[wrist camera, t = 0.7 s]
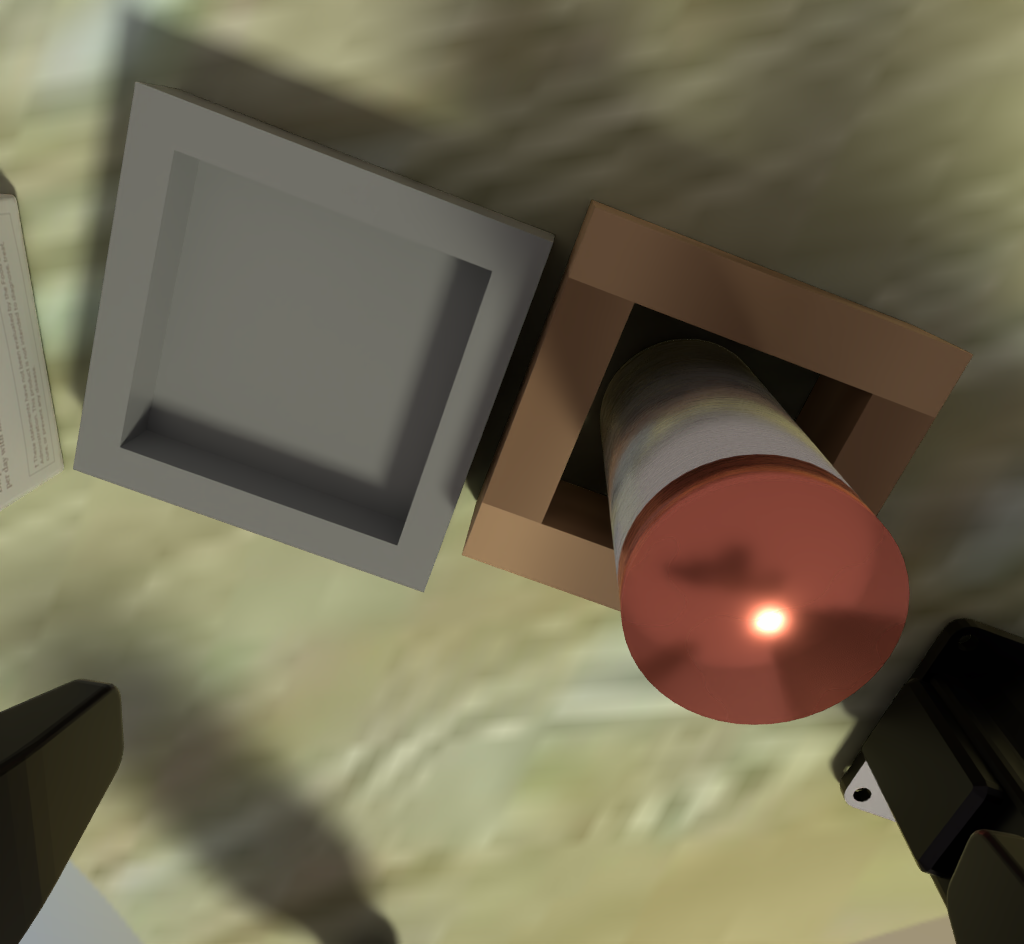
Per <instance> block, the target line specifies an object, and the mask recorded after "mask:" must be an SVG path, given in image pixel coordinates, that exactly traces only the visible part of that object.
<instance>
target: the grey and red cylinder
mask: <svg viewBox="0 0 1024 944" xmlns="http://www.w3.org/2000/svg"><path fill="white" fill-rule="evenodd" d="M600 430H601V439H602V448H603V457H604V466H605V475H606V484H607V493H608V502H609V511H610V520H611V529H612V537H613V546H614V555H615V564H616V573H617V582H618V591H619V600H620V609H621V618H622V626H623V631H624V635H625V640H626V643H627V645H628V648H629V651H630V653H631V656H632V657H633V659H634V661H635V663H636V664H637V666H638V668H639V669H640V671H641V672H642V673H643V674H644V676H645V677H646V678H647V680H648V681H649V682H650V683H651V684H652V685H653V686H654V687H655V688H656V689H657V690H658V691H660V692H661V693H662V694H663V695H665V696H666V697H667V698H669V699H670V700H672V701H673V702H675V703H676V704H678V705H680V706H682V707H684V708H685V709H687V710H689V711H692V712H694V713H697V714H699V715H701V716H704V717H708V718H711V719H715V720H718V721H724V722H730V723H736V724H751V725H757V724H774V723H780V722H787V721H792V720H796V719H800V718H804V717H807V716H810V715H813V714H815V713H818V712H821V711H823V710H825V709H827V708H829V707H831V706H833V705H835V704H837V703H839V702H841V701H842V700H844V699H846V698H847V697H849V696H850V695H852V694H853V693H855V692H856V691H857V690H858V689H860V688H861V687H862V686H863V685H865V684H866V683H867V682H868V681H869V680H870V679H871V678H872V677H873V676H874V675H875V674H876V673H877V672H878V671H879V670H880V669H881V667H882V666H883V665H884V663H885V662H886V661H887V659H888V658H889V657H890V655H891V653H892V652H893V650H894V648H895V646H896V645H897V643H898V641H899V638H900V636H901V633H902V631H903V628H904V626H905V622H906V617H907V613H908V607H909V594H910V592H909V580H908V574H907V570H906V566H905V562H904V559H903V557H902V554H901V552H900V550H899V547H898V545H897V544H896V542H895V541H894V539H893V537H892V536H891V534H890V533H889V531H888V530H887V529H886V528H885V526H884V525H883V524H882V523H881V522H880V521H879V519H878V518H877V517H876V516H875V515H874V514H873V512H872V511H871V510H870V509H869V508H868V507H867V505H866V504H865V503H864V502H863V501H862V500H861V498H860V497H859V496H858V495H857V494H856V493H855V491H854V490H853V489H852V488H851V487H850V486H849V484H848V483H847V482H846V481H845V480H844V479H843V477H842V476H841V475H840V474H839V473H838V472H837V470H836V469H835V468H834V467H833V466H832V465H831V463H830V462H829V461H828V460H827V459H826V457H825V456H824V455H823V454H822V453H821V452H820V450H819V449H818V448H817V447H816V446H815V445H814V443H813V442H812V441H811V440H810V439H809V438H808V436H807V435H806V434H805V433H804V432H803V431H802V429H801V428H800V427H799V426H798V425H797V424H796V422H795V421H794V420H793V419H792V418H791V417H790V415H789V414H788V413H787V412H786V411H785V410H784V408H783V407H782V406H781V405H780V404H779V403H778V401H777V400H776V399H775V398H774V397H773V395H772V394H771V393H770V392H769V391H768V390H767V388H766V387H765V386H764V385H763V384H762V383H761V381H760V380H759V379H758V378H757V377H756V376H755V374H754V373H753V372H752V371H751V370H750V369H749V367H748V366H747V365H746V364H745V363H744V362H743V361H742V360H741V359H740V358H739V357H738V356H737V355H735V354H734V353H732V352H731V351H729V350H728V349H726V348H724V347H722V346H720V345H718V344H715V343H712V342H708V341H705V340H699V339H673V340H669V341H664V342H660V343H658V344H655V345H652V346H650V347H648V348H646V349H644V350H642V351H640V352H639V353H637V354H636V355H634V356H633V357H632V358H630V359H629V360H628V361H627V362H626V363H625V364H624V365H623V366H622V367H621V368H620V369H619V370H618V371H617V373H616V374H615V376H614V377H613V378H612V380H611V382H610V383H609V385H608V387H607V389H606V392H605V395H604V398H603V400H602V405H601V410H600Z"/></svg>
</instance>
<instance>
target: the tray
mask: <svg viewBox="0 0 1024 944" xmlns="http://www.w3.org/2000/svg"><path fill="white" fill-rule="evenodd" d="M554 237H555V235H554V234H551V233H549V232H546V231H544V230H541V229H538V228H536V227H533V226H531V225H528V224H526V223H523V222H520V221H518V220H515V219H513V218H510V217H507V216H505V215H502V214H500V213H497V212H494V211H492V210H489V209H487V208H484V207H482V206H479V205H476V204H474V203H471V202H469V201H466V200H463V199H461V198H458V197H456V196H453V195H450V194H448V193H445V192H443V191H440V190H438V189H435V188H432V187H430V186H427V185H425V184H422V183H419V182H417V181H414V180H412V179H409V178H407V177H404V176H401V175H399V174H396V173H394V172H391V171H388V170H386V169H383V168H381V167H378V166H375V165H373V164H370V163H368V162H365V161H363V160H360V159H357V158H355V157H352V156H350V155H347V154H344V153H342V152H339V151H337V150H334V149H331V148H329V147H326V146H324V145H321V144H319V143H316V142H313V141H311V140H308V139H306V138H303V137H300V136H298V135H295V134H293V133H290V132H287V131H285V130H282V129H280V128H277V127H275V126H272V125H269V124H267V123H264V122H262V121H259V120H256V119H254V118H251V117H249V116H246V115H244V114H241V113H238V112H236V111H233V110H231V109H228V108H225V107H223V106H220V105H218V104H215V103H212V102H210V101H207V100H205V99H202V98H200V97H197V96H194V95H192V94H189V93H187V92H184V91H181V90H179V89H176V88H170V87H165V86H159V85H153V84H148V83H142V82H137V81H135V88H134V94H133V100H132V106H131V112H130V119H129V125H128V131H127V137H126V143H125V150H124V156H123V162H122V168H121V175H120V181H119V187H118V193H117V199H116V206H115V212H114V218H113V224H112V230H111V237H110V243H109V249H108V255H107V261H106V268H105V274H104V280H103V286H102V292H101V299H100V305H99V311H98V317H97V323H96V330H95V336H94V342H93V348H92V355H91V361H90V367H89V373H88V379H87V386H86V392H85V398H84V404H83V410H82V417H81V423H80V429H79V435H78V441H77V448H76V454H75V460H74V466H73V469H74V470H77V471H79V472H82V473H85V474H88V475H91V476H94V477H96V478H99V479H102V480H105V481H108V482H111V483H114V484H116V485H119V486H122V487H125V488H128V489H131V490H134V491H136V492H139V493H142V494H145V495H148V496H151V497H153V498H156V499H159V500H162V501H165V502H168V503H171V504H173V505H176V506H179V507H182V508H185V509H188V510H190V511H193V512H196V513H199V514H202V515H205V516H208V517H210V518H213V519H216V520H219V521H222V522H225V523H228V524H230V525H233V526H236V527H239V528H242V529H245V530H247V531H250V532H253V533H256V534H259V535H262V536H265V537H267V538H270V539H273V540H276V541H279V542H282V543H284V544H287V545H290V546H293V547H296V548H299V549H302V550H304V551H307V552H310V553H313V554H316V555H319V556H322V557H324V558H327V559H330V560H333V561H336V562H339V563H341V564H344V565H347V566H350V567H353V568H356V569H359V570H361V571H364V572H367V573H370V574H373V575H376V576H379V577H381V578H384V579H387V580H390V581H393V582H396V583H398V584H401V585H404V586H407V587H410V588H413V589H416V590H418V591H421V592H424V590H425V587H426V585H427V582H428V579H429V577H430V574H431V571H432V569H433V566H434V563H435V560H436V558H437V555H438V552H439V550H440V547H441V544H442V542H443V539H444V536H445V533H446V531H447V528H448V525H449V523H450V520H451V517H452V515H453V512H454V509H455V507H456V504H457V501H458V498H459V496H460V493H461V490H462V488H463V485H464V482H465V480H466V477H467V474H468V471H469V469H470V466H471V463H472V461H473V458H474V455H475V453H476V450H477V447H478V444H479V442H480V439H481V436H482V434H483V431H484V428H485V426H486V423H487V420H488V417H489V415H490V412H491V409H492V407H493V404H494V401H495V399H496V396H497V393H498V390H499V388H500V385H501V382H502V380H503V377H504V374H505V372H506V369H507V366H508V363H509V361H510V358H511V355H512V353H513V350H514V347H515V345H516V342H517V339H518V336H519V334H520V331H521V328H522V326H523V323H524V320H525V318H526V315H527V312H528V310H529V307H530V304H531V301H532V299H533V296H534V293H535V291H536V288H537V285H538V283H539V280H540V277H541V274H542V272H543V269H544V266H545V264H546V261H547V258H548V256H549V253H550V250H551V247H552V245H553V242H554Z"/></svg>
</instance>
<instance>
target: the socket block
mask: <svg viewBox="0 0 1024 944" xmlns="http://www.w3.org/2000/svg"><path fill="white" fill-rule="evenodd" d="M634 303H637V304H640V305H642V306H645V307H647V308H650V309H653V310H655V311H658V312H660V313H663V314H666V315H668V316H671V317H673V318H676V319H679V320H681V321H684V322H686V323H689V324H692V325H694V326H697V327H700V328H702V329H705V330H707V331H710V332H713V333H715V334H718V335H720V336H723V337H726V338H728V339H731V340H733V341H736V342H739V343H741V344H744V345H747V346H749V347H752V348H754V349H757V350H760V351H762V352H765V353H767V354H770V355H773V356H775V357H778V358H780V359H783V360H786V361H788V362H791V363H793V364H796V365H799V366H801V367H804V368H807V369H809V370H812V371H814V372H817V373H820V376H819V378H818V380H817V382H816V384H815V385H814V387H813V389H812V391H811V393H810V395H809V397H808V399H807V401H806V402H805V404H804V406H803V408H802V410H801V412H800V414H799V416H798V418H797V419H796V421H795V422H796V424H797V425H798V426H799V427H800V428H801V429H802V431H803V432H804V433H805V434H806V435H807V436H808V438H809V439H810V440H811V441H812V442H813V443H814V445H815V446H816V447H817V448H818V449H819V450H820V452H821V453H822V454H823V455H824V456H825V457H826V459H827V460H828V461H829V462H830V463H831V465H832V466H833V467H834V468H835V469H836V470H837V472H838V473H839V474H840V475H841V476H842V477H843V479H844V480H845V481H846V482H847V483H848V484H849V486H850V487H851V488H852V489H853V490H854V491H855V493H856V494H857V495H858V496H859V497H860V498H861V500H862V501H863V502H864V503H865V504H866V505H867V507H868V508H869V509H870V510H871V511H872V512H873V514H874V515H875V516H877V514H878V513H879V511H880V509H881V508H882V506H883V504H884V503H885V501H886V499H887V498H888V496H889V494H890V493H891V491H892V489H893V488H894V486H895V484H896V483H897V481H898V479H899V478H900V476H901V474H902V473H903V471H904V469H905V468H906V466H907V464H908V463H909V461H910V459H911V458H912V456H913V454H914V453H915V451H916V449H917V448H918V446H919V444H920V443H921V441H922V439H923V438H924V436H925V434H926V433H927V431H928V429H929V428H930V426H931V424H932V423H933V421H934V419H935V418H936V416H937V414H938V413H939V411H940V409H941V408H942V406H943V404H944V403H945V401H946V399H947V398H948V396H949V394H950V393H951V391H952V389H953V388H954V386H955V384H956V383H957V381H958V379H959V378H960V376H961V374H962V373H963V371H964V369H965V368H966V366H967V364H968V363H969V361H970V359H971V358H972V356H973V354H971V353H969V352H967V351H965V350H963V349H961V348H959V347H957V346H955V345H953V344H951V343H949V342H946V341H944V340H942V339H940V338H938V337H936V336H934V335H932V334H930V333H928V332H926V331H924V330H922V329H920V328H918V327H916V326H913V325H911V324H909V323H906V322H903V321H901V320H898V319H896V318H893V317H891V316H888V315H886V314H883V313H880V312H878V311H875V310H873V309H870V308H868V307H865V306H863V305H860V304H857V303H855V302H852V301H850V300H847V299H845V298H842V297H839V296H837V295H834V294H832V293H829V292H827V291H824V290H822V289H819V288H816V287H814V286H811V285H809V284H806V283H804V282H801V281H799V280H796V279H793V278H791V277H788V276H786V275H783V274H781V273H778V272H776V271H773V270H770V269H768V268H765V267H763V266H760V265H758V264H755V263H753V262H750V261H747V260H745V259H742V258H740V257H737V256H735V255H732V254H729V253H727V252H724V251H722V250H719V249H717V248H714V247H712V246H709V245H706V244H704V243H701V242H699V241H696V240H694V239H691V238H689V237H686V236H683V235H681V234H678V233H676V232H673V231H671V230H668V229H666V228H663V227H660V226H658V225H655V224H653V223H650V222H648V221H645V220H642V219H640V218H637V217H635V216H632V215H630V214H627V213H625V212H622V211H619V210H617V209H614V208H612V207H609V206H607V205H604V204H602V203H599V202H596V201H594V200H591V203H590V205H589V208H588V210H587V213H586V216H585V218H584V221H583V224H582V226H581V229H580V231H579V234H578V237H577V239H576V242H575V245H574V247H573V250H572V252H571V255H570V258H569V260H568V263H567V266H566V268H565V271H564V273H563V276H562V279H561V281H560V284H559V287H558V289H557V292H556V294H555V297H554V300H553V302H552V305H551V308H550V310H549V313H548V315H547V318H546V321H545V323H544V326H543V329H542V331H541V334H540V336H539V339H538V342H537V344H536V347H535V350H534V352H533V355H532V357H531V360H530V363H529V365H528V368H527V371H526V373H525V376H524V378H523V381H522V384H521V386H520V389H519V392H518V394H517V397H516V399H515V402H514V405H513V407H512V410H511V413H510V415H509V418H508V420H507V423H506V426H505V428H504V431H503V434H502V436H501V439H500V441H499V444H498V447H497V449H496V452H495V455H494V457H493V460H492V462H491V465H490V468H489V470H488V473H487V476H486V478H485V481H484V483H483V486H482V489H481V491H480V494H479V497H478V499H477V502H476V505H475V509H474V513H473V516H472V520H471V524H470V527H469V531H468V535H467V538H466V542H465V545H464V549H463V553H462V555H463V556H466V557H469V558H472V559H475V560H478V561H480V562H483V563H486V564H489V565H492V566H494V567H497V568H500V569H503V570H506V571H509V572H511V573H514V574H517V575H520V576H523V577H525V578H528V579H531V580H534V581H537V582H539V583H542V584H545V585H548V586H551V587H554V588H556V589H559V590H562V591H565V592H568V593H570V594H573V595H576V596H579V597H582V598H584V599H587V600H590V601H593V602H596V603H599V604H601V605H604V606H607V607H610V608H613V609H615V610H618V611H621V609H620V600H619V591H618V582H617V573H616V564H615V555H614V546H613V537H612V529H611V520H610V511H609V502H608V497H607V496H604V495H601V494H598V493H596V492H593V491H590V490H587V489H585V488H582V487H579V486H576V485H574V484H571V483H568V482H566V481H563V480H560V478H561V476H562V474H563V471H564V469H565V467H566V464H567V462H568V459H569V457H570V455H571V452H572V450H573V448H574V445H575V443H576V440H577V438H578V436H579V433H580V431H581V429H582V426H583V424H584V421H585V419H586V417H587V414H588V412H589V410H590V407H591V405H592V402H593V400H594V398H595V395H596V393H597V390H598V388H599V386H600V383H601V381H602V379H603V376H604V374H605V371H606V369H607V367H608V364H609V362H610V360H611V357H612V355H613V352H614V350H615V348H616V345H617V343H618V341H619V338H620V336H621V333H622V331H623V329H624V326H625V324H626V322H627V319H628V317H629V314H630V312H631V310H632V307H633V305H634Z"/></svg>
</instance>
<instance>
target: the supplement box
mask: <svg viewBox="0 0 1024 944" xmlns="http://www.w3.org/2000/svg"><path fill="white" fill-rule="evenodd" d="M63 470H64V464H63V458H62V453H61V448H60V443H59V437H58V431H57V426H56V420H55V414H54V409H53V403H52V398H51V392H50V387H49V381H48V376H47V370H46V364H45V359H44V353H43V348H42V342H41V336H40V331H39V325H38V319H37V314H36V308H35V302H34V297H33V291H32V285H31V280H30V274H29V268H28V263H27V257H26V251H25V245H24V240H23V234H22V228H21V222H20V216H19V210H18V205H17V200H16V198H15V197H14V196H13V195H9V194H0V511H1V510H3V509H4V508H6V507H7V506H9V505H10V504H12V503H14V502H15V501H17V500H18V499H20V498H21V497H23V496H25V495H26V494H28V493H29V492H31V491H32V490H34V489H35V488H37V487H38V486H40V485H41V484H43V483H45V482H46V481H48V480H49V479H51V478H53V477H54V476H56V475H57V474H59V473H60V472H62V471H63Z"/></svg>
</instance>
